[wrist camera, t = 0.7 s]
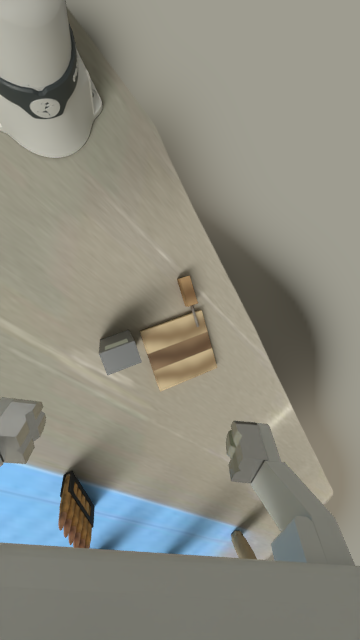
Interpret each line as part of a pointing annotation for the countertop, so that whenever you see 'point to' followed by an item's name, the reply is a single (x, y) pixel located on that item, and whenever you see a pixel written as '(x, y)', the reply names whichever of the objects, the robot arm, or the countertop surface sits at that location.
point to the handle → (242, 546)
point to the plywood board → (179, 350)
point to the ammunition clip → (76, 512)
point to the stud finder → (118, 352)
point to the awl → (188, 294)
